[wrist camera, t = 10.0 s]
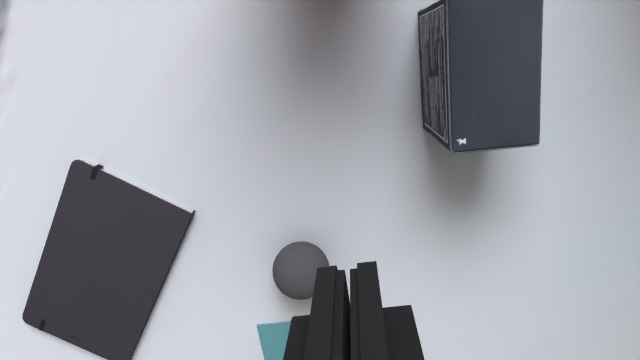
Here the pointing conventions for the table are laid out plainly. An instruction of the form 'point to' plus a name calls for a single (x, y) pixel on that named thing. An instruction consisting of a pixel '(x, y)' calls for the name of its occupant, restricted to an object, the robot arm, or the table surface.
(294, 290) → the dark gray ball
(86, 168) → the notebook
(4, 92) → the table surface
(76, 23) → the table surface
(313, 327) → the robot arm
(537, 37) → the small box
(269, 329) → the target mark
